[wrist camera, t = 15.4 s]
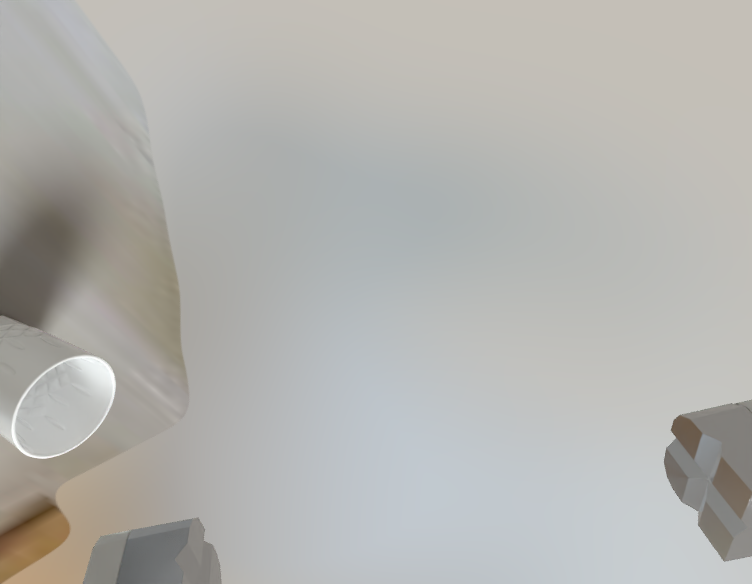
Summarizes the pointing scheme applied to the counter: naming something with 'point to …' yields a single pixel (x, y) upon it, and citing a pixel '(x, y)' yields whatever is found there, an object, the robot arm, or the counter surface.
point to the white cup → (49, 391)
